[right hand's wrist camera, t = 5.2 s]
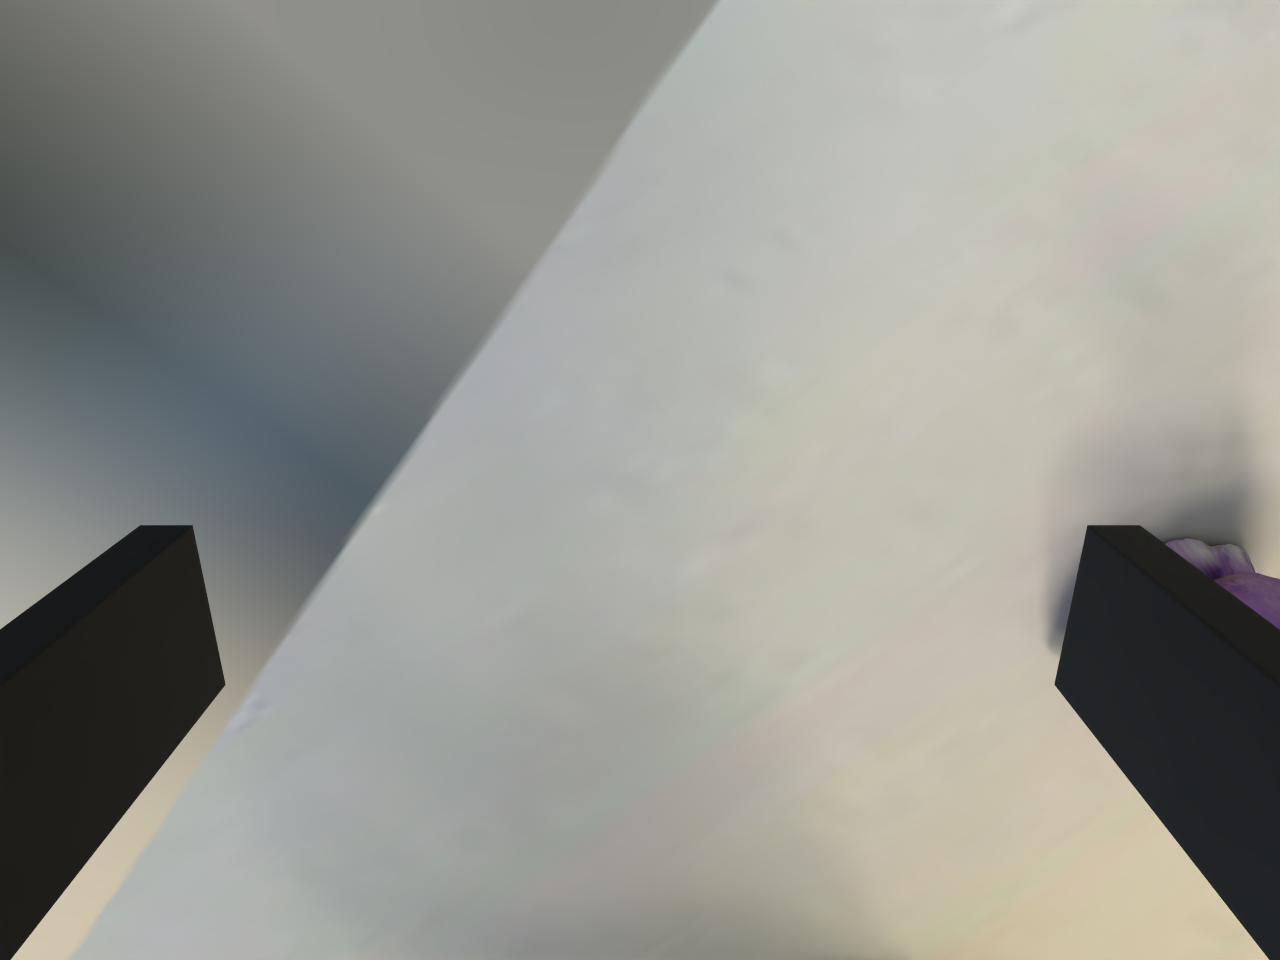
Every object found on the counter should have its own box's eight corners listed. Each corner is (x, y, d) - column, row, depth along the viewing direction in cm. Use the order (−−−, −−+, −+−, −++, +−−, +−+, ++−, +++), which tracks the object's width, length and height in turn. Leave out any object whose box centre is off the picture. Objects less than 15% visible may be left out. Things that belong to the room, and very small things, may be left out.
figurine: (1297, 529, 43) (1618, 712, 29) (1204, 695, 46) (1448, 930, 32) (1123, 489, 42) (1366, 657, 28) (1042, 661, 46) (1221, 887, 32)
